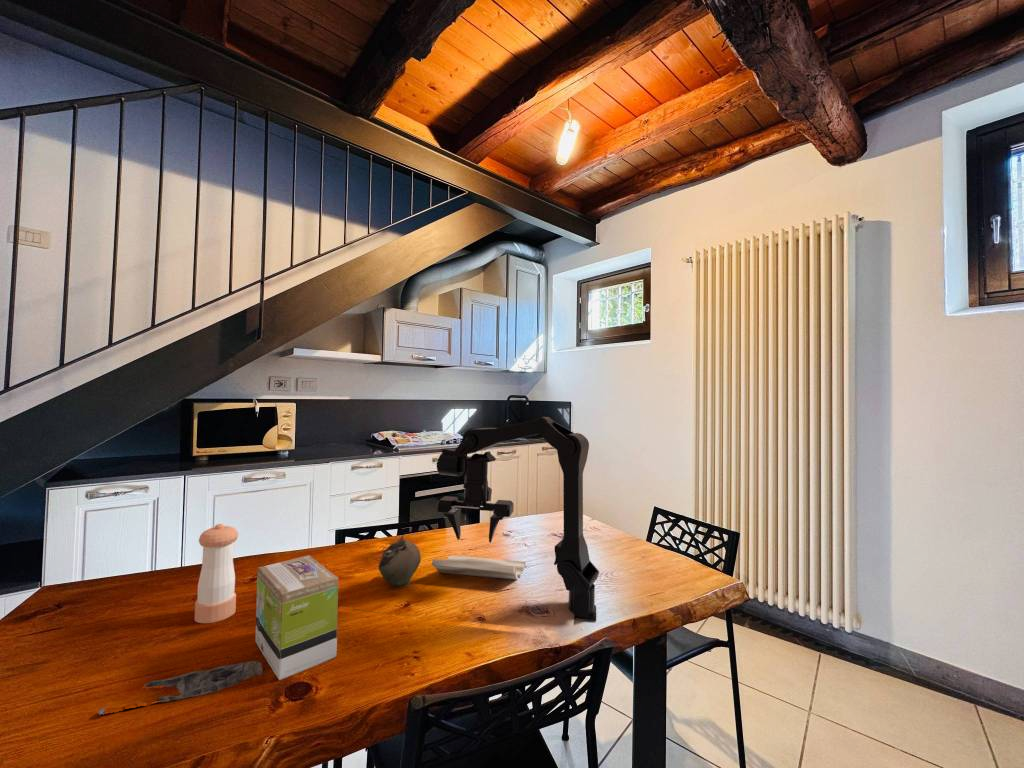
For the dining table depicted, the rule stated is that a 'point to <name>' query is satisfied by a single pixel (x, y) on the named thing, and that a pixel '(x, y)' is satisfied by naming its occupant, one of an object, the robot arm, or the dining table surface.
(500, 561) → the beige flat panel
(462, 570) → the board
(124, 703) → the dining table surface
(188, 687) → the driftwood
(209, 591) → the pepper shaker
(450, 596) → the dining table surface
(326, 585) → the tea box
